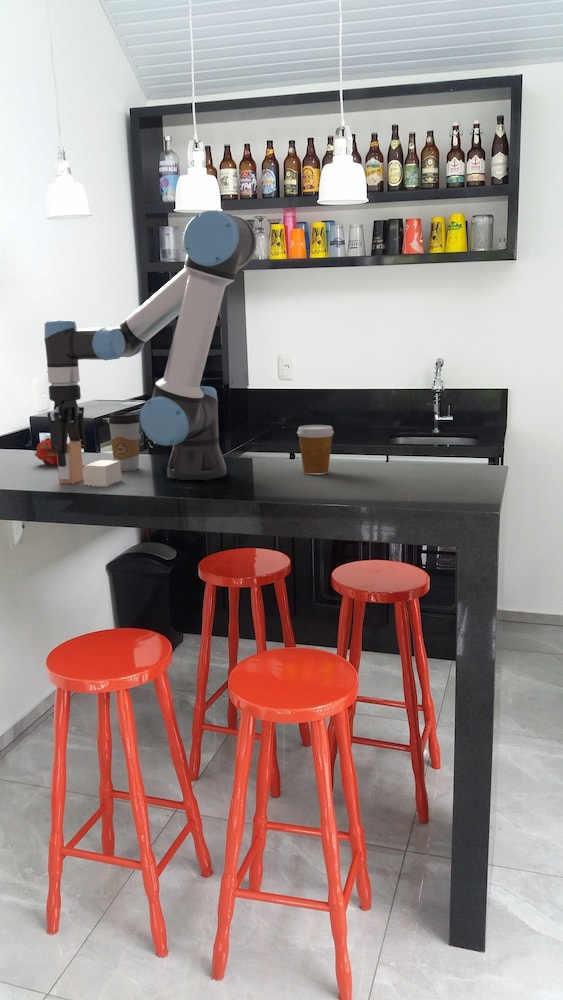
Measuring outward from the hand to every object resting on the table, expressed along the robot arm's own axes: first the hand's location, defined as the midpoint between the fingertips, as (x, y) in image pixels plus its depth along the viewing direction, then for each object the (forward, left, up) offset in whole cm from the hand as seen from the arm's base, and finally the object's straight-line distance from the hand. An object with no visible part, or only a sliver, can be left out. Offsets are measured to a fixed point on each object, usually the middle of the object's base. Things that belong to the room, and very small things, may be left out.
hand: (71, 476), depth 210 cm
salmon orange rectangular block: (0, 0, -1) cm, 1 cm away
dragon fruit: (+17, -21, -2) cm, 27 cm away
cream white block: (-9, 0, -1) cm, 9 cm away
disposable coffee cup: (-58, -23, -1) cm, 62 cm away
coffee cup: (-6, -19, -1) cm, 20 cm away
